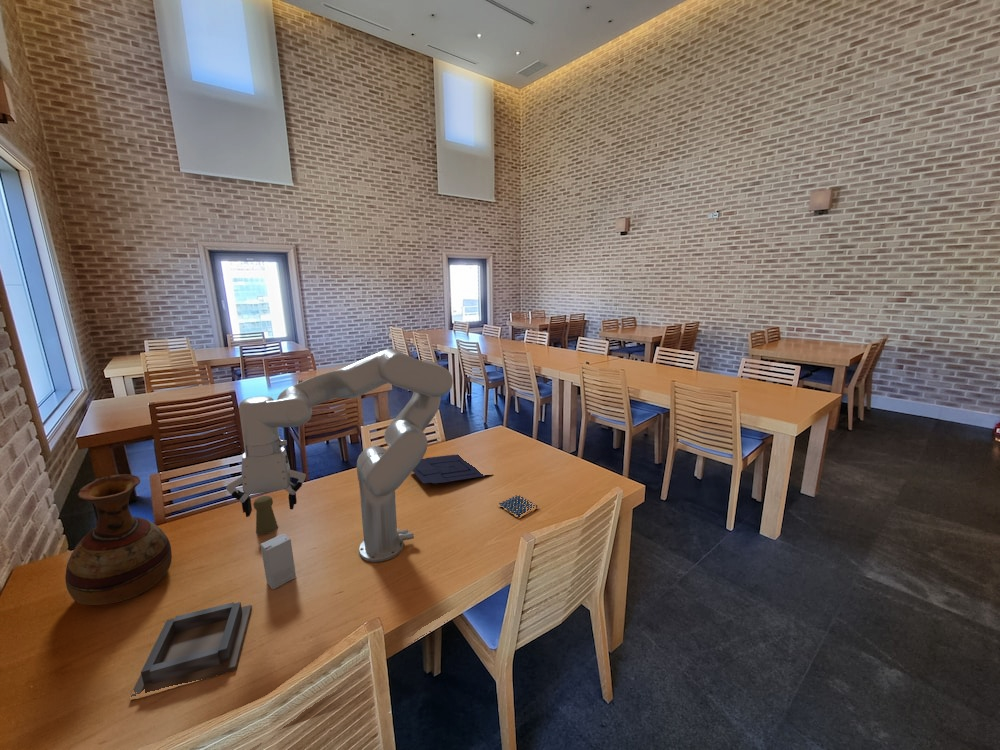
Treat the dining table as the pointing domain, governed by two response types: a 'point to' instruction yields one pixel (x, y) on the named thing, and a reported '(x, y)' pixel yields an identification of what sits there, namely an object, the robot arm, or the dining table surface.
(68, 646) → the dining table surface
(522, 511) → the woven mat
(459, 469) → the navy folded cloth
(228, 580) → the dining table surface
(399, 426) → the robot arm
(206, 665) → the socket stand
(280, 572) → the skincare box
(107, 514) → the painted clay vase
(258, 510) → the cork
